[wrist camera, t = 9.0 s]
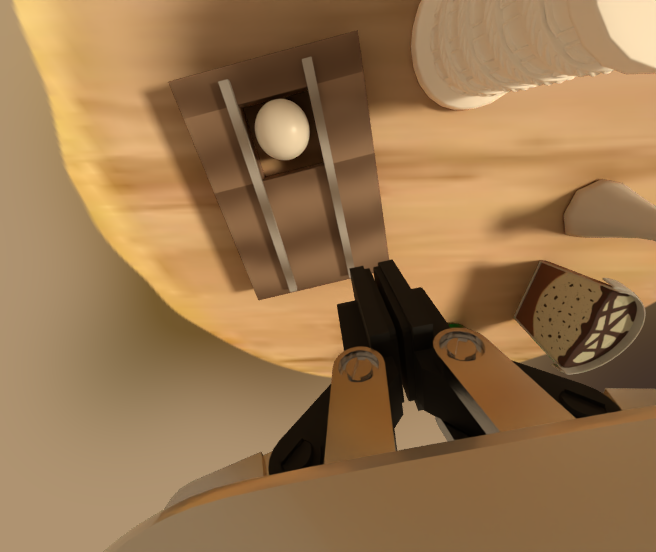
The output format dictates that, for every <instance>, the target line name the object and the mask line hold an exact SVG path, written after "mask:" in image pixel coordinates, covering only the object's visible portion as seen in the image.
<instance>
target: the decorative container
mask: <svg viewBox="0 0 656 552" xmlns="http://www.w3.org/2000/svg"><path fill="white" fill-rule="evenodd" d="M411 55H412V62H413V69H414V72H415V74H416V77H417V80H418V82H419V85H420V86H421V88H422V89H423V90H424V92H425V93H426V94H427V96H428V97H429V98H430V99H432V100H433V101H434V102H436V103H437V104H439V105H440V106H442V107H446V108H449V109H452V110H469V109H475V108H478V107H481V106H484V105H487V104H490V103H492V102H494V101H495V100H497V99H498V98H500V97H501V96H503V95H504V94H506V93H508V92H510V91H513V92H517V91H519V90H527V89H529V88H534V87H536V86H540V85H543V84H544V85H547V86H549V85H551V84H553V83H557V84H560V83H562V82H564V81H565V80H566V81H568V80H572V79H573V78H574V77H576V76H579V77H584V76H588V75H589V76H591V77H594V76H596V75H598V74H600V73H603V74H609V73H610V72H612V71H614V70H615V71H618V72H621V73H624V74H655V73H656V0H421V2H420V4H419V6H418V10H417V13H416V17H415V20H414V24H413V28H412V40H411Z"/></svg>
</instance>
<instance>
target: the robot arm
mask: <svg viewBox="0 0 656 552" xmlns="http://www.w3.org/2000/svg"><path fill="white" fill-rule="evenodd" d="M349 270H350V276H351V281H352V286H353V292H354V297H355V301H351V302H346V303H341V304H337V309H338V315H339V321H340V328H341V334H342V340H343V346H344V351H343V352H342V353H341V354H340V355H338V357H337V358H336V360H335V361H334V365H333V370H332V381H331V384H330V385H329V387H328V388H327V389H326V390H325V391H324V392H323V393H322V394H321V395H320V397H319V398H318V399H317V400H316V401H315V402H314V403H313V404H312V405H311V406H310V408H309V409H308V410H307V411H306V412H305V413H304V414H303V415H302V416H301V418H300V419H299V420H298V421H297V422H296V423H295V424H294V425H293V426H292V427H291V429H290V430H289V431H288V432H287V433H286V434H285V435H284V436H283V437H282V438H281V440H280V441H279V442H278V444H277V445H276V446H275V448H274V449H273V451H272V452H270V453H267V454H265V455H263V454H262V452H259V453H257V454H254V455H252V456H250V457H248V458H245V459H243V460H241V461H238V462H236V463H234V464H231V465H229V466H227V467H225V468H222V469H220V470H218V471H215V472H213V473H211V474H208V475H206V476H204V477H201V478H199V479H197V480H194V481H192V482H190V483H188V484H187V485H185V486H184V487H182V488H181V489H180V490H179V491H178V492H177V493H176V494H175V495H174V496H173V497H172V498H171V499H170V501H169V503H168V504H167V506H166V507H165V509H164V510H162V511H160V512H159V513H157V514H155V515H153V516H152V517H150V518H148V519H147V520H145V521H144V522H142V523H140V524H139V525H137V526H136V527H134V528H133V529H131V530H130V531H129V532H127V533H126V534H125V535H123V536H122V537H120V538H119V539H118V540H117V541H115V542H114V543H113V544H112V545H111V546H109V547H108V548H107V549H106V550H105V551H104V552H656V389H618V388H616V389H615V388H605V390H604V393H601V392H599V391H598V390H596V389H593V388H591V387H589V386H586V385H584V384H581V383H578V382H575V381H572V380H569V379H566V378H562V377H560V376H557V375H554V374H550V373H548V372H545V371H542V370H538V369H536V368H533V367H530V366H527V365H524V364H521V363H518V362H515V361H512V360H510V359H509V358H508V357H507V356H506V355H505V354H503V353H502V352H501V351H500V350H499V349H498V348H497V347H496V346H494V345H493V344H492V343H491V342H490V341H489V340H488V339H487V338H486V337H484V336H483V335H481V334H480V333H478V332H476V331H473V330H470V329H465V328H450V326H449V325H448V323H447V322H446V321H445V319H444V318H443V316H442V315H441V314H440V312H439V311H438V309H437V308H436V306H435V305H434V304H433V302H432V301H431V299H430V298H429V297H428V295H427V294H426V292H425V291H424V290H423V289H422V288H421V287H419V288H414V289H411V288H410V286H409V285H408V283H407V282H406V280H405V279H404V277H403V275H402V274H401V272H400V271H399V269H398V267H397V266H396V264H395V263H394V261H393V260H387V261H382V262H378V266H376V267H373V271H374V278H375V280H374V278H373V275H372V273H371V271H370V269H369V268H367V269H364V266H359V267H354V268H349ZM402 385H403V386H402ZM403 387H404V390H405V393H406V396H407V398H408V400H409V401H413V400H414V401H415V403H416V406H417V408H418V411H419V410H424V411H427V412H428V413H430V414H432V415H434V416H435V419H436V422H437V424H438V426H439V428H440V430H441V431H442V433H443V434H444V436H445V438H446V439H447V441H448V442H443V443H437V444H432V445H426V446H421V447H415V448H409V449H404V450H399V451H397V445H396V438H395V431H394V428H395V427H396V425H397V423H398V422H399V420H400V419H401V417H402V416H403V408H402V403H403V402H404V396H403Z"/></svg>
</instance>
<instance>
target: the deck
mask: <svg viewBox="0 0 656 552" xmlns="http://www.w3.org/2000/svg"><path fill="white" fill-rule="evenodd" d="M169 85H170V87H171V90H172V92H173V95H174V97H175V99H176V102H177V104H178V107H179V109H180V112H181V114H182V116H183V119H184V121H185V124H186V126H187V128H188V131H189V133H190V136H191V138H192V141H193V143H194V145H195V148H196V150H197V153H198V155H199V158H200V160H201V162H202V165H203V167H204V170H205V172H206V174H207V177H208V179H209V182H210V184H211V187H212V189H213V191H214V194H215V196H216V199H217V201H218V204H219V206H220V208H221V211H222V213H223V216H224V218H225V220H226V223H227V225H228V228H229V230H230V233H231V235H232V237H233V240H234V242H235V245H236V247H237V250H238V252H239V254H240V257H241V259H242V262H243V264H244V266H245V269H246V271H247V274H248V276H249V279H250V281H251V283H252V286H253V288H254V291H255V293H256V296H257V298H258V300H262V299H266V298H270V297H275V296H279V295H283V294H287V293H292V292H296V291H300V290H304V289H308V288H313V287H317V286H321V285H325V284H329V283H334V282H338V281H342V280H346V279H351V276H350V270H349V268H354V267H359V266H364V269H367V268H369V269H370V271H371V273H374V271H373V267H376V266H378V262H382V261H387V260H389V256H388V248H387V241H386V234H385V226H384V219H383V212H382V204H381V197H380V190H379V182H378V175H377V168H376V161H375V153H374V146H373V139H372V131H371V124H370V117H369V109H368V102H367V95H366V87H365V80H364V73H363V66H362V58H361V51H360V44H359V36H358V30H357V31H353V32H350V33H346V34H342V35H339V36H335V37H331V38H328V39H324V40H320V41H317V42H313V43H309V44H306V45H302V46H298V47H295V48H291V49H287V50H283V51H280V52H276V53H272V54H269V55H265V56H261V57H258V58H254V59H250V60H247V61H243V62H239V63H236V64H232V65H228V66H225V67H221V68H217V69H214V70H210V71H206V72H203V73H199V74H195V75H191V76H188V77H184V78H180V79H177V80H173V81H169ZM305 91H308V92H309V96H310V101H311V105H312V110H313V115H314V119H315V124H316V128H317V133H318V137H319V142H320V147H321V151H322V156H323V160H324V163H320V164H316V165H312V166H308V167H304V168H300V169H296V170H292V171H288V172H284V173H280V174H276V175H272V176H269V177H265V176H264V172H263V169H262V166H261V163H260V160H259V157H258V154H257V151H256V147H255V144H254V141H253V138H252V135H251V132H250V129H249V126H248V122H247V119H246V116H245V113H244V110H243V108H245V107H249V106H253V105H256V104H260V103H264V102H268V101H271V100H274V99H279V98H283V97H287V96H290V95H294V94H298V93H302V92H305Z"/></svg>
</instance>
